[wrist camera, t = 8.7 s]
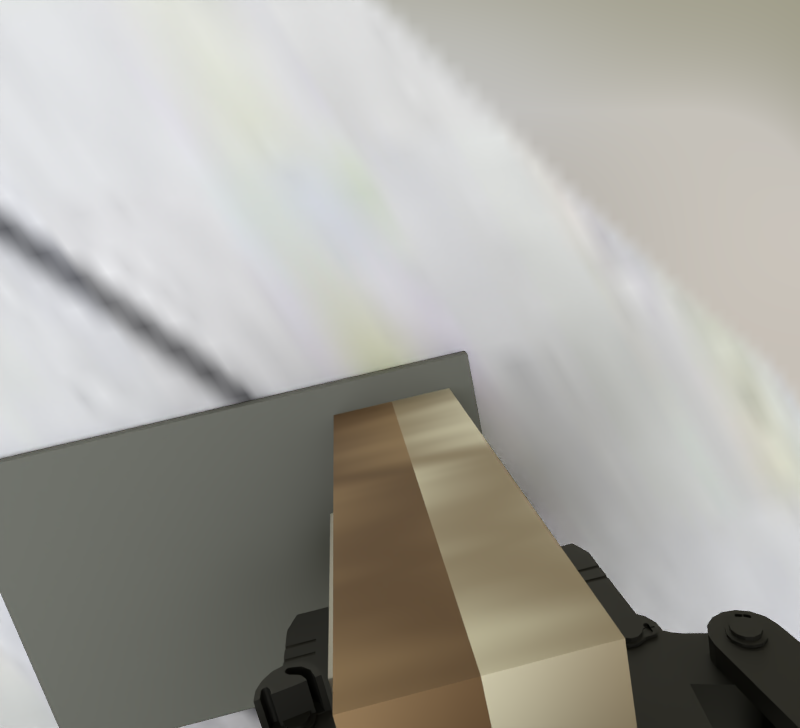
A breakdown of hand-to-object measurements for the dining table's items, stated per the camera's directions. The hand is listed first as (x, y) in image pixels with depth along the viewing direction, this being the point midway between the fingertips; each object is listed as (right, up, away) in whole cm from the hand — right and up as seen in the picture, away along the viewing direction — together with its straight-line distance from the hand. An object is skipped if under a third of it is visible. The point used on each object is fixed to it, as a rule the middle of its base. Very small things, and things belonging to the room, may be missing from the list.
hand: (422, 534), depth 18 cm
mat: (-5, -1, +1) cm, 5 cm away
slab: (0, 0, +1) cm, 1 cm away
